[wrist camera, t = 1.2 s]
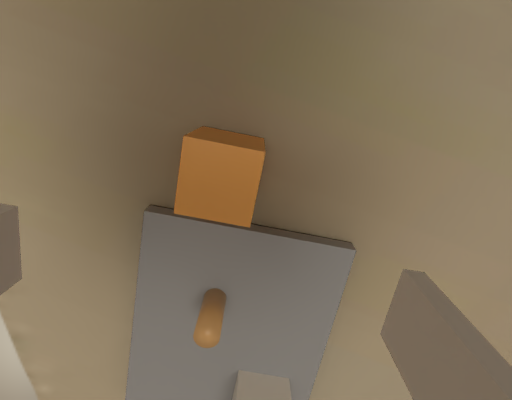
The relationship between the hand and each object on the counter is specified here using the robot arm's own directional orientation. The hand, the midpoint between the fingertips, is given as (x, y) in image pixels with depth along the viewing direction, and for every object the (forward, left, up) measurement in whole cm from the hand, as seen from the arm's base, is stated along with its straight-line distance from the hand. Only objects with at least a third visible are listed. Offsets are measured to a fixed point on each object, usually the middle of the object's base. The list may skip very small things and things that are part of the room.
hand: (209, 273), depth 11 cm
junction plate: (+16, +2, -17) cm, 23 cm away
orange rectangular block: (0, -1, -17) cm, 17 cm away
